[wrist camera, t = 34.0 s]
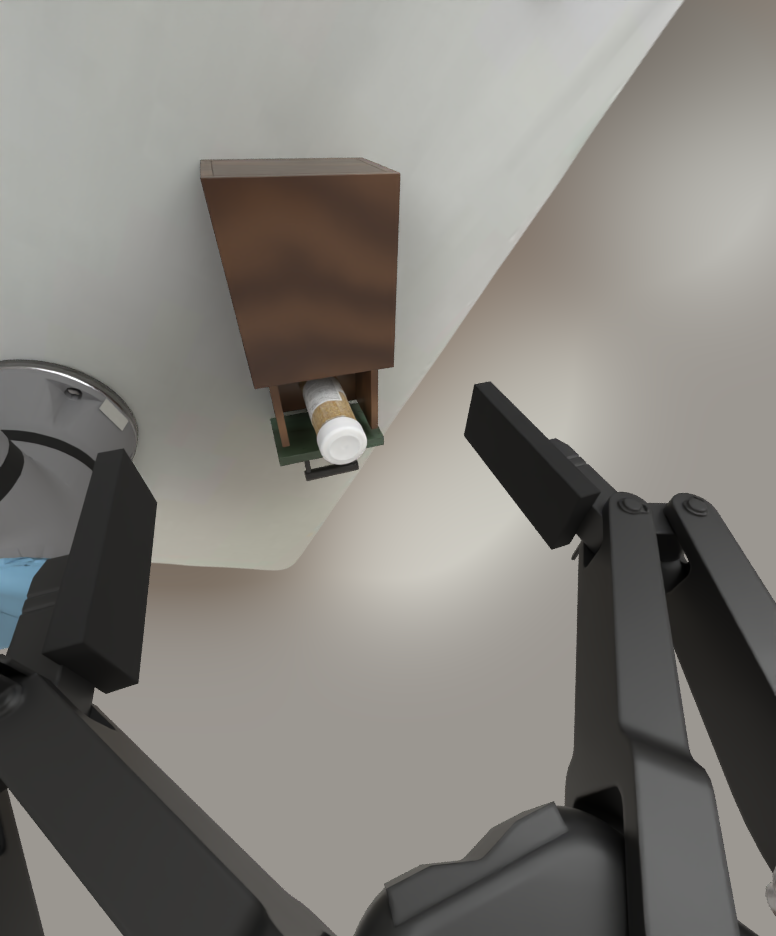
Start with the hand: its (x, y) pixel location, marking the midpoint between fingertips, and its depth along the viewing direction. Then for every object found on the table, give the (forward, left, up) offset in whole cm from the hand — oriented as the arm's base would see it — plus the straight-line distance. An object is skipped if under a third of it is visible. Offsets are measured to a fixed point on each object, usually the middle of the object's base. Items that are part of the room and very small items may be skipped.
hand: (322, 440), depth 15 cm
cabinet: (+4, -2, -30) cm, 31 cm away
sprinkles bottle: (+4, -14, -29) cm, 32 cm away
